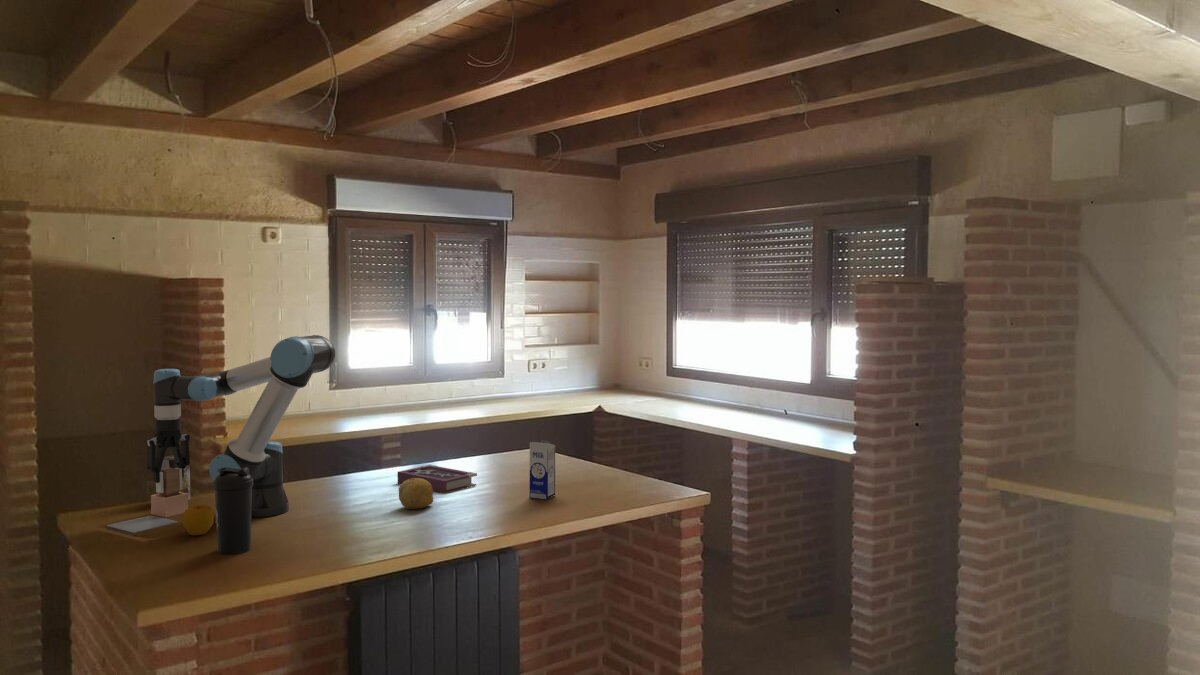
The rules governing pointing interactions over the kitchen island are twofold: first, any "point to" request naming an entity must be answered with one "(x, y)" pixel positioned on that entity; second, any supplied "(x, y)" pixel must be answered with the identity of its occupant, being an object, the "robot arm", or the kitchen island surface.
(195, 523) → the apple
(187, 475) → the coffee box
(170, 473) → the peg
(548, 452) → the milk carton
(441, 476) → the book
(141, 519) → the tile
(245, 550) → the water bottle
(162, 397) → the robot arm
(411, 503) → the potato
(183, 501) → the box with hole
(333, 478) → the kitchen island surface
